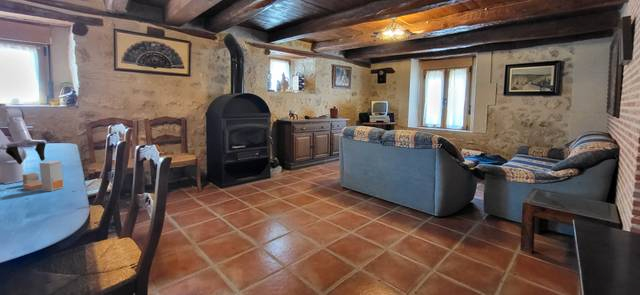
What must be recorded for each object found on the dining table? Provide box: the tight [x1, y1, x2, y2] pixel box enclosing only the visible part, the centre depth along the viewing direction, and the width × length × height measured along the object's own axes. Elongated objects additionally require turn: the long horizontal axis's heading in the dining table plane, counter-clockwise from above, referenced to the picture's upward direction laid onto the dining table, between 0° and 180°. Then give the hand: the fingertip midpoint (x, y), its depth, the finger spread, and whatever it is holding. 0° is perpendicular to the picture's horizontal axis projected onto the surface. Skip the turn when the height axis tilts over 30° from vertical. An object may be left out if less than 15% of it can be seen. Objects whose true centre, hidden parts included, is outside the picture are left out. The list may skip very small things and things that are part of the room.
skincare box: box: [39, 160, 65, 192], centre depth 127 cm, size 6×4×12 cm
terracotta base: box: [22, 180, 42, 192], centre depth 130 cm, size 7×7×2 cm
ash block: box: [22, 172, 40, 185], centre depth 134 cm, size 4×4×5 cm
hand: (32, 161), depth 131 cm, fingers open, 7 cm apart
